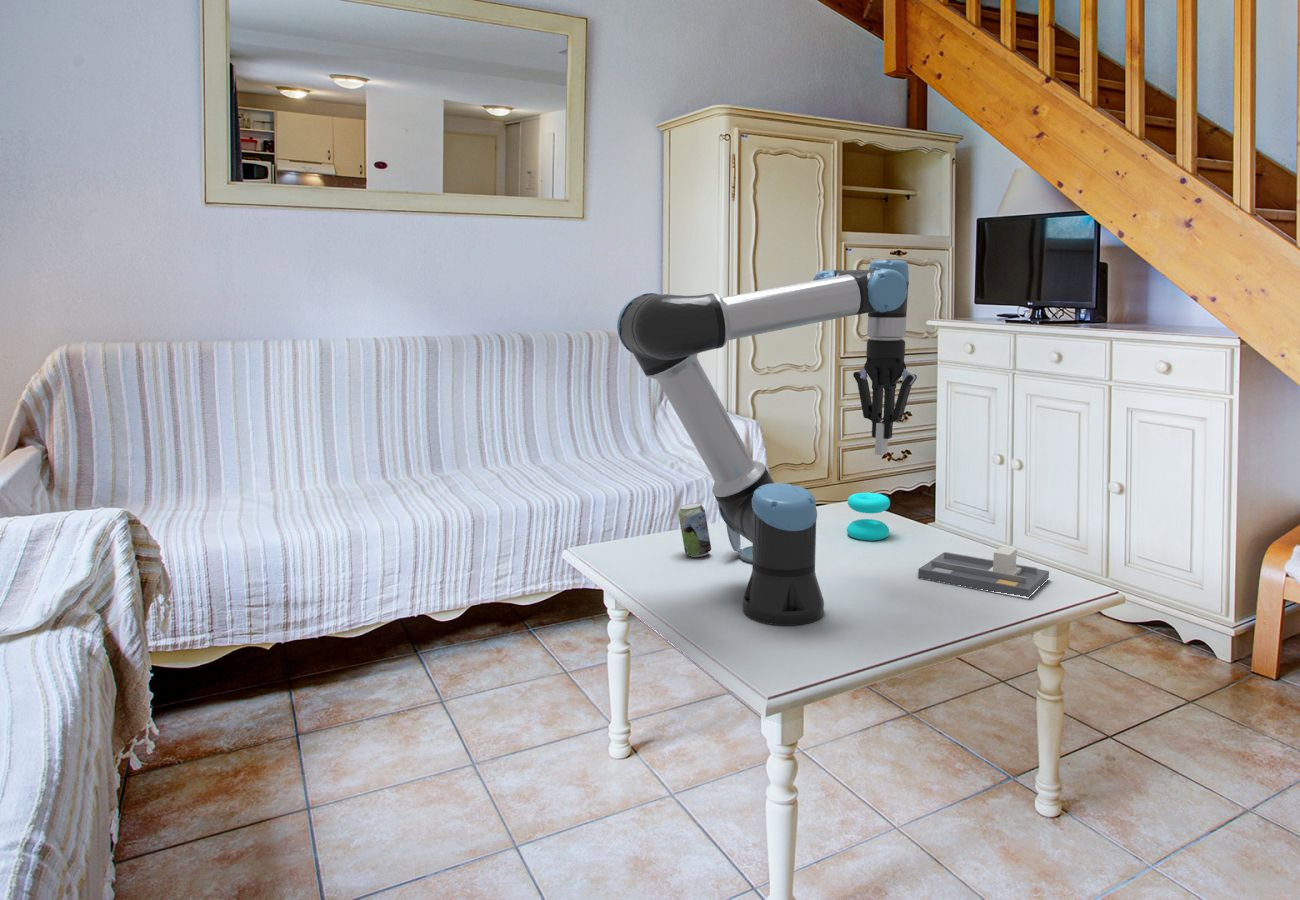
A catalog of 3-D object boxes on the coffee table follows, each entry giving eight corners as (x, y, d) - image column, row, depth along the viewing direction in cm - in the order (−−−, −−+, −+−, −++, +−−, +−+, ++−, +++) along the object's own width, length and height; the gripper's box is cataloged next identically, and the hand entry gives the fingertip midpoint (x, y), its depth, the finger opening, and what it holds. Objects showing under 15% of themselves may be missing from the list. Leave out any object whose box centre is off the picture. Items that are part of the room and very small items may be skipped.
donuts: (891, 492, 220) (889, 502, 210) (889, 532, 221) (888, 543, 212) (849, 490, 222) (845, 499, 213) (848, 529, 224) (844, 540, 215)
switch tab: (1012, 579, 179) (1013, 556, 178) (986, 575, 182) (988, 552, 181) (1021, 571, 183) (1022, 549, 183) (996, 567, 187) (997, 545, 186)
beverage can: (711, 559, 202) (711, 507, 200) (679, 559, 202) (678, 508, 200) (710, 551, 208) (710, 500, 206) (678, 551, 208) (678, 501, 206)
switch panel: (1028, 599, 174) (1029, 583, 173) (918, 578, 187) (918, 563, 186) (1048, 580, 184) (1049, 565, 184) (943, 561, 198) (943, 547, 197)
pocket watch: (731, 504, 207) (797, 507, 203) (731, 550, 209) (796, 554, 205) (723, 515, 198) (791, 519, 193) (723, 563, 200) (790, 567, 195)
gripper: (924, 338, 179) (918, 454, 184) (864, 336, 187) (859, 447, 192) (909, 340, 174) (903, 460, 178) (848, 338, 182) (843, 453, 186)
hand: (881, 453), depth 185 cm, fingers closed
